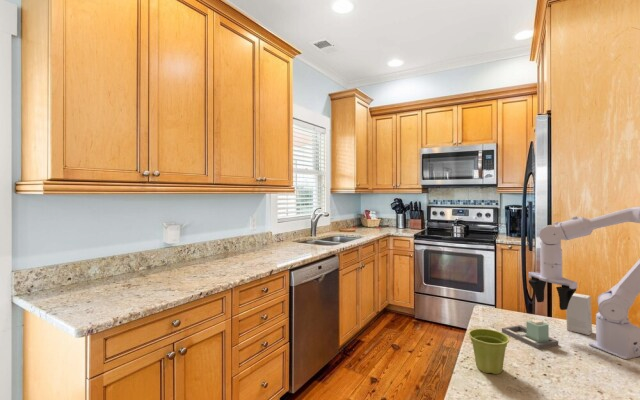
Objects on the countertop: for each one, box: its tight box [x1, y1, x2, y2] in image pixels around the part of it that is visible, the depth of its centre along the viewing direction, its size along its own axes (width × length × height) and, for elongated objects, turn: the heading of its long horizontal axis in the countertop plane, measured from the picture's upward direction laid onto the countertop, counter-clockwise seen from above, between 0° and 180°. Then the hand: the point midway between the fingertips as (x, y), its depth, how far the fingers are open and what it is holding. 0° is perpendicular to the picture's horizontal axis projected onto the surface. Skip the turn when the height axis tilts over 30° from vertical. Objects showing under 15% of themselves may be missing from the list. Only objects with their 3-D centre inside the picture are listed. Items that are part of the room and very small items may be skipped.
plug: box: [525, 319, 550, 343], centre depth 100 cm, size 4×4×7 cm
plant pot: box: [468, 328, 510, 375], centre depth 85 cm, size 9×9×9 cm
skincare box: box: [565, 292, 593, 336], centre depth 107 cm, size 6×4×12 cm
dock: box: [501, 324, 559, 350], centre depth 103 cm, size 13×8×1 cm, turn 17°
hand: (551, 305), depth 104 cm, fingers open, 7 cm apart
